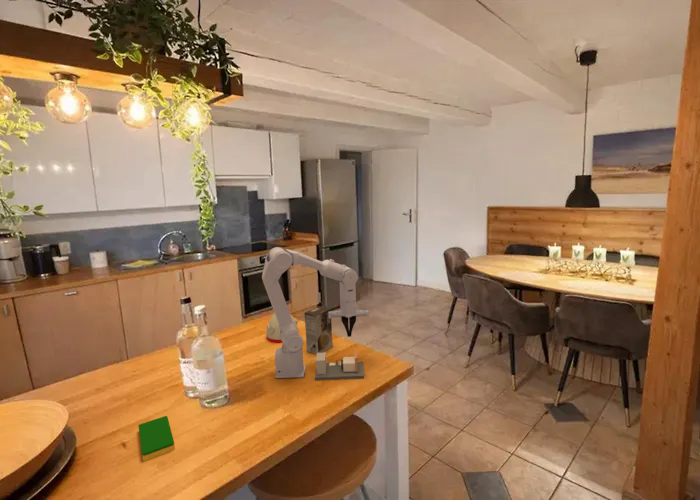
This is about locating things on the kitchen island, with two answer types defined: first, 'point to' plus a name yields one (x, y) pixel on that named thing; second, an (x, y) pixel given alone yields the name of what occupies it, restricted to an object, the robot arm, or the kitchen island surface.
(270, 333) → the kitchen timer
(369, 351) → the kitchen island surface
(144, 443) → the dish sponge
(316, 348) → the coffee box
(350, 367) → the cream and red block
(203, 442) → the kitchen island surface
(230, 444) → the kitchen island surface
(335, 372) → the board
